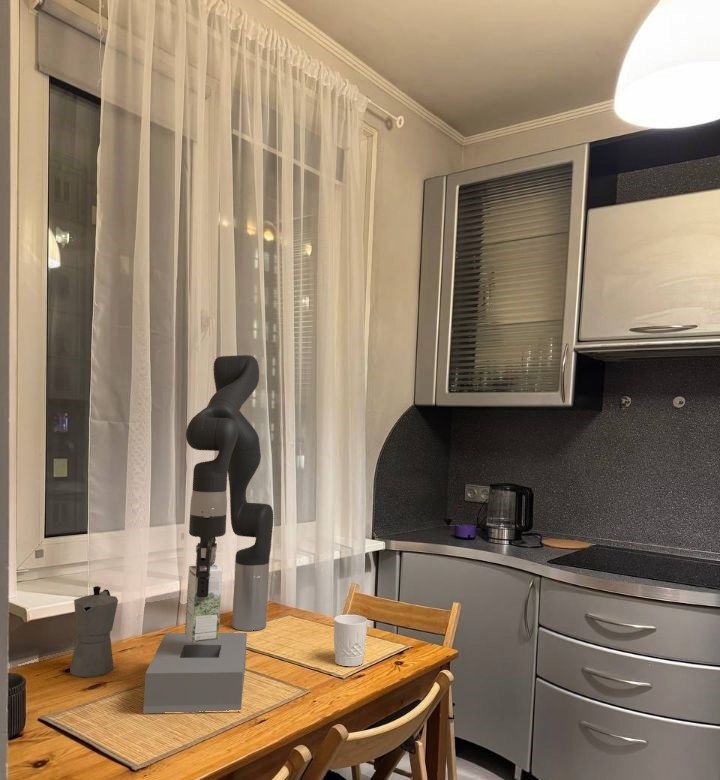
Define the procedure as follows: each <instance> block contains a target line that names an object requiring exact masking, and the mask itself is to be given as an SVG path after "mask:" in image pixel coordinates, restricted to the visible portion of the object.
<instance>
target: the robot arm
mask: <svg viewBox="0 0 720 780" xmlns="http://www.w3.org/2000/svg"><path fill="white" fill-rule="evenodd" d="M258 362H259V361H258V360H257V358H256V357H254V356H252V355H249V354H245V355H244V354H242V355H240V354H239V355H222V356H218V357H216V358H215V359H214V362H213V381H214V385H215V393H214V394H213V395H212V397H210V400H209V402H208V404H207V406H206V407H205V408H204V409H202V410H201V411H199V412H198V413H197V414H195V415H194V416H193V417H192V418H191V420H190V421H189V423H188V425H187V428H186V429H185V430H186V432H185V438H186V441H187V444H188V446H190V447H191V448H192V449H194V450H196V451H214V452H217V451H218V454H217V456H216V457H215V458H214V459H212V460H206V461H201V462H198V463H196V464H195V465H194V466H193V467H194V468H193V473H192V474H193V475H192V493H191V498H190V506H189V507H190V508H189V525H188V533H189V535H190V536H191V537H194V538H195V537H196V538H197V537H199V542H198V543H197V545H196V546H195V553H196V557H195V558H196V559H195V566H196V567H197V570H196V577H197V579H198V584H197V597H207V596H208V591H209V578H210V569H211V568H212V567H213V564H215V563H216V558H217V557H216V555H217V553H216V552H217V548H218V544H217V542H216V541H217V539H216V538H220V537H223V536H225V535H226V533H227V513H228V498H227V497H228V496H227V489H228V488H227V487H228V486H229V504H230V505H229V507H230V525H231V529H232V532H233V533H234V534H235V535H236V536H237V537H239V536H240V537H246V538H247V537H248V538H255V540H254V541H255V542H254V544H253V545H251V546H249V547H246V548H242V549H239V550H237V551H236V553H235V559H234V560H235V561H234V563H235V564H234V580H233V582H234V583H233V584H234V585H233V598H232V600H233V601H232V602H233V603H232V621H231V622H232V623H231V627H232V628H233V629H235V630H238V631H244V632H245V631H246V632H252V631H253V630H254V631H259V630H263V629H265V628H266V627H267V621H268V620H267V618H268V617H267V616H268V615H267V613H268V600H269V597H268V596H269V579H270V578H269V577H270V575H269V573H270V572H269V571H270V557H271V556H270V555H271V549H272V540H273V539H272V538H273V537H272V536H273V529H274V528H273V527H274V511H273V507H272V506H271V504H267V503H259V502H258V503H257V502H248V501H247V489H248V486H249V483H250V482H251V480H252V479H253V477H254V475H255V473H256V472H257V470H258V468H259V466H260V463H261V458H262V456H261V446H260V445H261V444H260V437H259V435H258V432H257V431H256V429H255V427H253V425H252V424H251V423H250V421H249V420H248V418H246V417H245V415H244V414H243V413H242V412H241V411H240V410H241V408H242V406H243V405H244V404H245V402H246V401H247V400H248V399H249V398H250V396H251V395H252V394H253V392H254V391H256V389H257V386H258V384H259V381H260V367H259V363H258ZM201 568H207V570H206V571H200V570H201ZM254 631H253V632H254Z"/></svg>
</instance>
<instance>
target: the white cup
mask: <svg viewBox="0 0 720 780" xmlns="http://www.w3.org/2000/svg"><path fill="white" fill-rule="evenodd" d="M367 629H368V618H366V617H364V616H363V615H360V614H359V615H358V614H341V615H337V616H334V619H333V641H334V643H333V645H334V647H333V649H334V663H335V662H336V663H337V664H339V665H343V666H358V665H361V664H362V663H363V664H364V660H365V651H366V644H367V643H366V642H367V641H366V640H367V632H368V631H367ZM336 663H335V664H336ZM337 664H336V665H337ZM363 664H362V665H363ZM339 665H338V666H339ZM362 665H361V666H362ZM358 667H359V666H358Z"/></svg>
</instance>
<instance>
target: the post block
mask: <svg viewBox="0 0 720 780" xmlns="http://www.w3.org/2000/svg"><path fill="white" fill-rule="evenodd" d="M247 635H248V633H247V632H219V638H218V639H215V640H207V641H198V642H191V641H190V639H189V638H188V637H187V636H186V634H185V632H165V633H164V635H163V637H162V640H161V641H160V643H159V645H158V647H157V649H156V651H155V654H154V655H153V657H152V659H151V661H150V664H149V666H148V667H147V669H146V671H145V673H144V674H145V676H144V694H143V711H142V714H143V713H165V712H199V711H201V712H202V711H203V712H205V711H226V710H227V711H229V710H241V711H242V705H241V704H243V695H242V694H244V685H243V684H245V675H244V674H245V673H246V663H247V662H246V659H247V657H246V656H247V641H248V639H247V638H248V636H247Z"/></svg>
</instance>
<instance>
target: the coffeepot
mask: <svg viewBox="0 0 720 780" xmlns="http://www.w3.org/2000/svg"><path fill="white" fill-rule="evenodd" d="M92 588H93V594H89V595H85V596H81V597H78V598H76V599H73V602H74V614H75V616H74V617H75V627H76V634H77V639H76V641H75V645H74V649H73V654H72V657H71V658H72V659H71V662H70V667H69V670H70V671H69V672H70V674H71V675H72V676H74V677H77V678H96V677H101V676H104V675H107V674H109V673H110V672H112V671H113V670H114V668H115V667H114V658H113V649H112V640H111V631H113V626H114V621H115V619H116V618H115V617H116V613H117V608H118V603H119V600H118V598H117V596H113V595H111V593H110V590H109V589H103V590H102V591H101V589H102V586H99V585H96V586H93V587H92Z"/></svg>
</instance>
